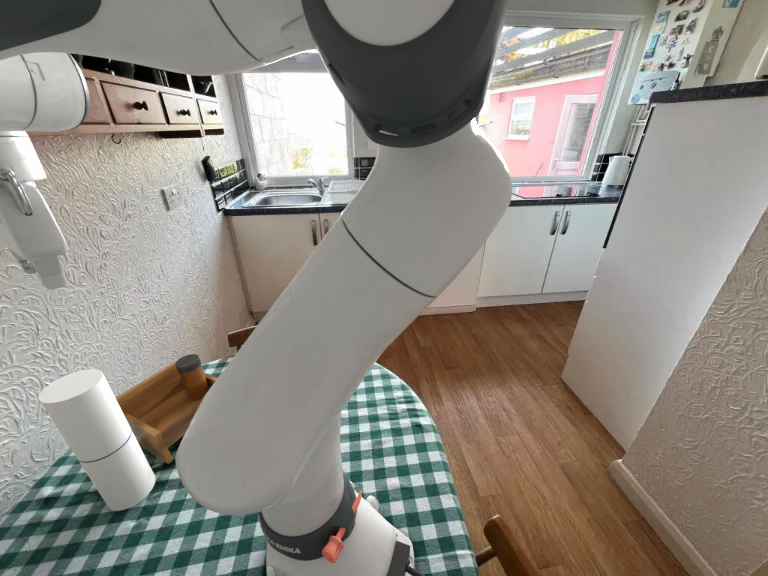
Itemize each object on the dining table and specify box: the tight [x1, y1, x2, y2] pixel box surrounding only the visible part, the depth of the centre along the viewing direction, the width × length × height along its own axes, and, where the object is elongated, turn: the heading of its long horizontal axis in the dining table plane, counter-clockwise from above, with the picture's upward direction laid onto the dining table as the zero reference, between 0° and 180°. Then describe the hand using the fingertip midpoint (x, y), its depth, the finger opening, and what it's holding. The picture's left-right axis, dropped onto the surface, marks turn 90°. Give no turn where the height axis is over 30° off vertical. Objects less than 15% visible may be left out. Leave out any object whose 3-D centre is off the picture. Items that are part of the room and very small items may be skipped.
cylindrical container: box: [38, 368, 156, 512], centre depth 52 cm, size 7×7×25 cm
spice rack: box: [115, 353, 218, 465], centre depth 67 cm, size 12×16×15 cm
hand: (44, 279), depth 41 cm, fingers open, 8 cm apart
